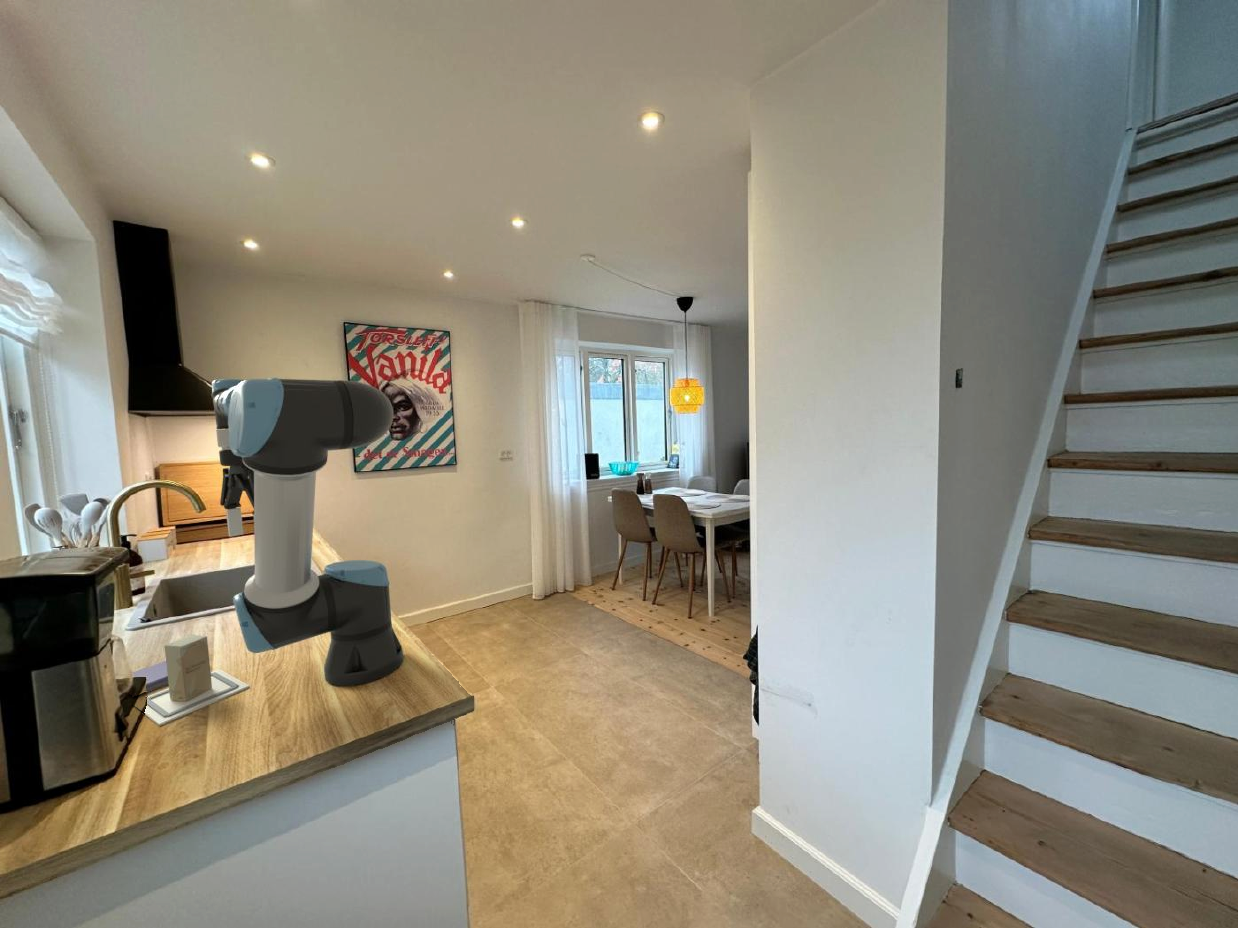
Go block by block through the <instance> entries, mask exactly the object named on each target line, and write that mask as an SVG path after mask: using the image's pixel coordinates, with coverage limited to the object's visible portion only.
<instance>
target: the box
mask: <svg viewBox="0 0 1238 928" xmlns="http://www.w3.org/2000/svg"><path fill="white" fill-rule="evenodd" d="M208 644H209V643H208V636H206V635H200V634H199V635H196V634H190V635H187V636H186V637H182V638H180V639H177V640H175V641H172V642H170V643H167V644H165V645H164V654H165V661H166V664H167V674H168V683H169V684H168V688H169V693H170V699H171V700H177V701H185V702H186V701H188V700H190V699H192V698H194V697H196V696H198V695H200V694H202V693H204V692H206V691H208V690H210V689H212V682H211V672H212V671H211V663H210V653H209V652H210V651H209V645H208Z"/></svg>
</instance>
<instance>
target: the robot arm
mask: <svg viewBox="0 0 1238 928" xmlns="http://www.w3.org/2000/svg"><path fill="white" fill-rule="evenodd" d="M211 390H212V391H211V393H210V394H211V398H212V403H213V408H214V409H213V410H214V417H215V422H216V423H215V424H216V438H217V439H216V441H217V447H218V448H221V449H220V450H219V451H218V455H219V461H220V462H219V463H220V464H219V465H221V466H222V467H224V468H222V484H221V492H220V499H219V500H220V501H219V503H220V506H221V507H224V510H225V514H226V523H227V531H228V532H227V534H228V537H236V536H240V535H244V528H243V517H242V504H241V503H240V502H241V499H242V496H243V492H245V494H246V496H247V499H248V500H249V502H250V504H251V506H252V508H253V511H252V513H251V515H253V525H254V526H253V527H254V535H253V537H254V542H253V543H254V574H253V575H252V576H250V577H249V578H248V579H247V581H246V583H245V585H244V590H243V591H241V592H239V593H237V594H235V595H233V597H232V601H233V605H234V609H235V613H236V617H237V620H238V624H239V629H240V631H241V634H242V638H243V640H244V643H245V646H246V647H245V648H246V649H247V650H248V652H250V653H252V654H259V653H264V652H267V651H275V650H277V649H280V648H283V647H285V646H289V645H292V644H296V643H299V642H302V641H305V640H308V639H311V638H315V637H317V636H321V635H324V634H327V633H330V644H329V646H328V652H327V655H326V657H325V661H324V662H325V663H324V667H323V670H324V679H325V681H326V682H327V683H328V684H331V685H333V686H339V687H348V686H349V687H351V686H358V685H362V684H367V683H370V682H374V681H376V680H379V679H383V678H385V677H386V676H388V675H390V674H391V673H393V672H395V671H396V670H397V669H398V668H399V667H400V666H401V665H402V664H403V662H404V651H403V647H402V644H401V643H400V641H399V638H398V636H397V635H396V632H395V630H394V628H393V625H392V623H393V622H392V611H391V599H390V581H389V577H388V571H387V568H386V566H385V565H384V564H383V563H381V562H378V561H375V560H366V559H365V560H361V559H357V560H353V559H352V560H341V561H337V562H332V563H331V564H327V565H326V566H324V570H323V574H319V575H318V574H317V573H316V572H315V571H314V570H313V569H312V558H313V557H312V556H313V537H314V534H313V533H314V518H315V517H314V516H315V515H314V514H315V499H316V498H315V496H316V479H317V478H316V477H317V472H318V471H321V470H322V469H323V468H325V466H326V465H327V463H328V455H329V451H339V450H340V451H341V450H349V449H357V448H362V447H365V446H368V445H370V444H373V443H374V442H376V441H378V440H380V439H381V438H382V437H383V436H385V435H386V434H387V432H388V431H389V430H390V428H391V426H392V424H393V421H394V409H393V405H392V403H391V402H392V401H390V399H389V398H388V397H387V395H386V394H385V393H384V392H383V391H381V390H380V389H378V388H377V387H375V386H374V385H373V386H372V385H370V384H367V383H363V382H360V381H354V380H353V381H352V380H343V379H342V380H334V379H333V380H329V379H327V380H326V379H298V378H297V379H291V378H278V377H270V378H269V377H268V378H254V379H253V378H251V379H239V378H238V379H236V378H233V379H232V378H224V379H223V378H222V379H214V380H213V381H212V382H211Z"/></svg>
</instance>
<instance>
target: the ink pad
mask: <svg viewBox="0 0 1238 928" xmlns="http://www.w3.org/2000/svg"><path fill="white" fill-rule="evenodd" d="M131 673H133V676H134V677H146V679H147V681H146V691H147V693H149V692H151V691H154V690H157V689H158V690H159V689H161V688H162V687H166V686H169V683H168V674H167V664H166V660H165V661H161V662H159V663H156V664H153V665H150V666H148V667H147V666H146V667H144V668H141V669H139V670H135V671H133V672H131Z"/></svg>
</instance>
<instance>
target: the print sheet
mask: <svg viewBox="0 0 1238 928" xmlns="http://www.w3.org/2000/svg"><path fill="white" fill-rule="evenodd" d="M210 672H211V682H212V689H210V690H208V691H206V692H204V693H202V694H200V695H198V696H196V697H194V698H192V699H190V700H188V701H186V702H185V701H177V700H171V699H170V693H169V687H168V688H166V689H163V690H161V691H158V692H155V693H153V694H150V695H147V696H148V697H147V696H146V697H147V706H146V709H145V712H144V713H145V715H144V716H145V717H147V718H148V719H149V720H151V721H152V722H153V723H155V724H156V725H157V726H158V727H160V726H162V725H165V724H168V723H170V722H173V721H174V720H177V719H179V718H181V717H184V716H186V715H188V714H191V713H193V712H196V711H197V710H200V709H203V708H206V707H207V706H210V705H212V704H214V703H216V702H219V701H221V700H224V699H226V698H229V697H230V696H233V695H235V694H238V693H240V692H241V691H244V690H247V689H249V688H250V684H247V683H246V682H244V681H242V680H240V679H238V678H236V677H234V676H232V675H230V674H229V673H227V672H225V671H223V670H221V669H219V668H218V669H215V670H213V671H210Z"/></svg>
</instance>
